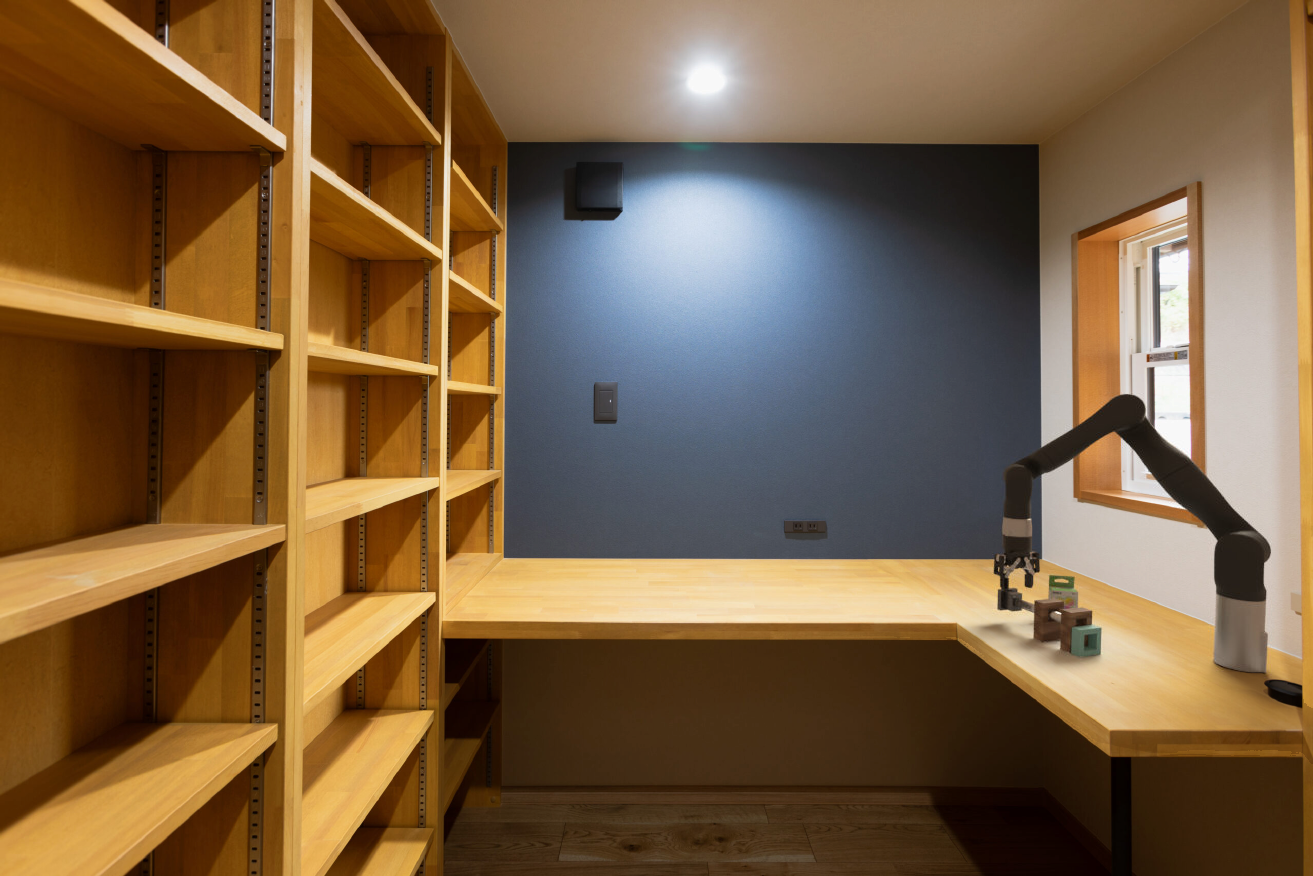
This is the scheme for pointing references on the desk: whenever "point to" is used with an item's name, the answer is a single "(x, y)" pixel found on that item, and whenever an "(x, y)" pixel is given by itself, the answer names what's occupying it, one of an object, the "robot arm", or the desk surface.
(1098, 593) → the desk surface
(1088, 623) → the bearing blocks
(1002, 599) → the shaft
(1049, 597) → the ink box
